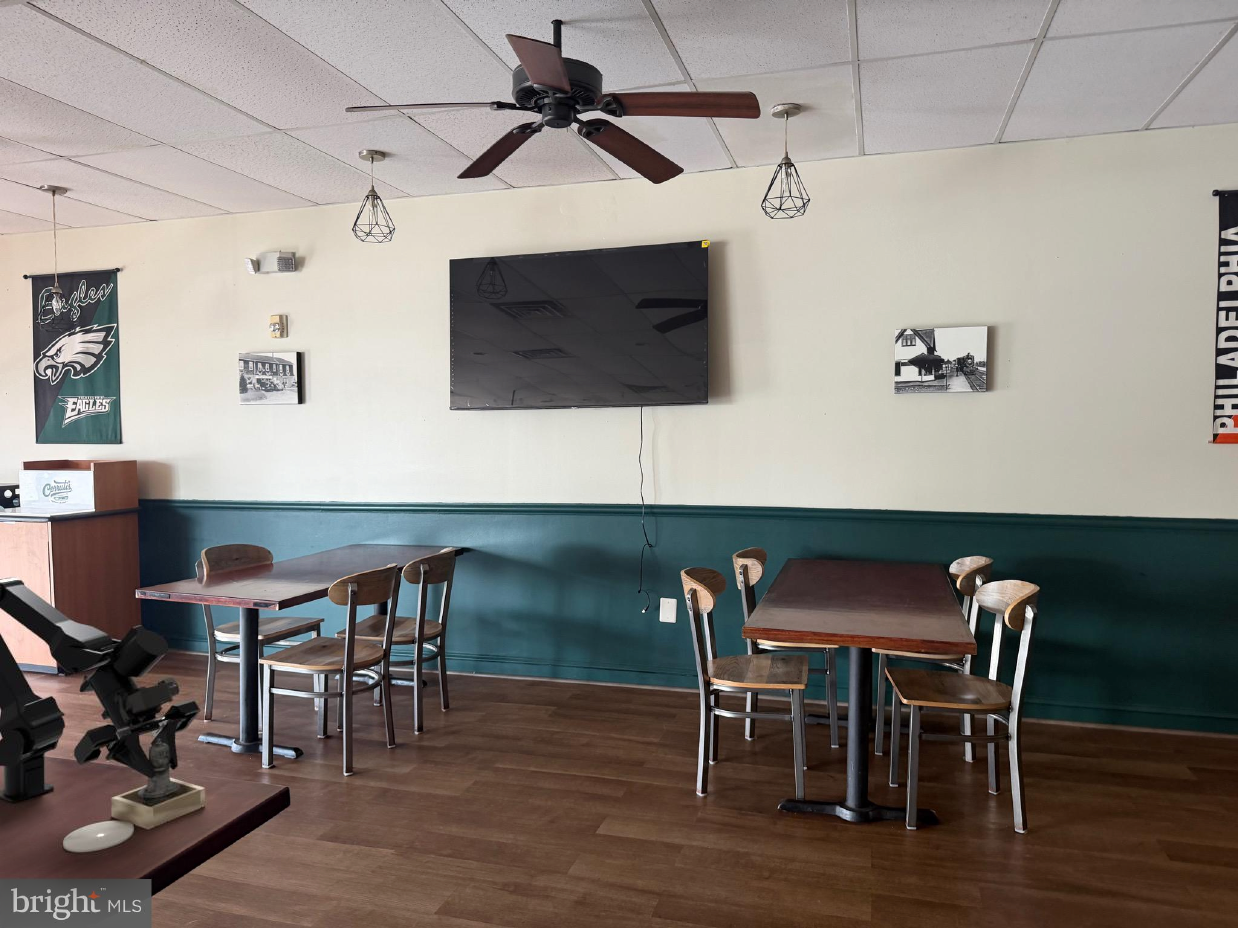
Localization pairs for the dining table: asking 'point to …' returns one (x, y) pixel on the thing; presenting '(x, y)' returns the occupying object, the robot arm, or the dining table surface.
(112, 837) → the coaster
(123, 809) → the birch holder
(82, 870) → the dining table surface
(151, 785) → the grey tall domed piece
